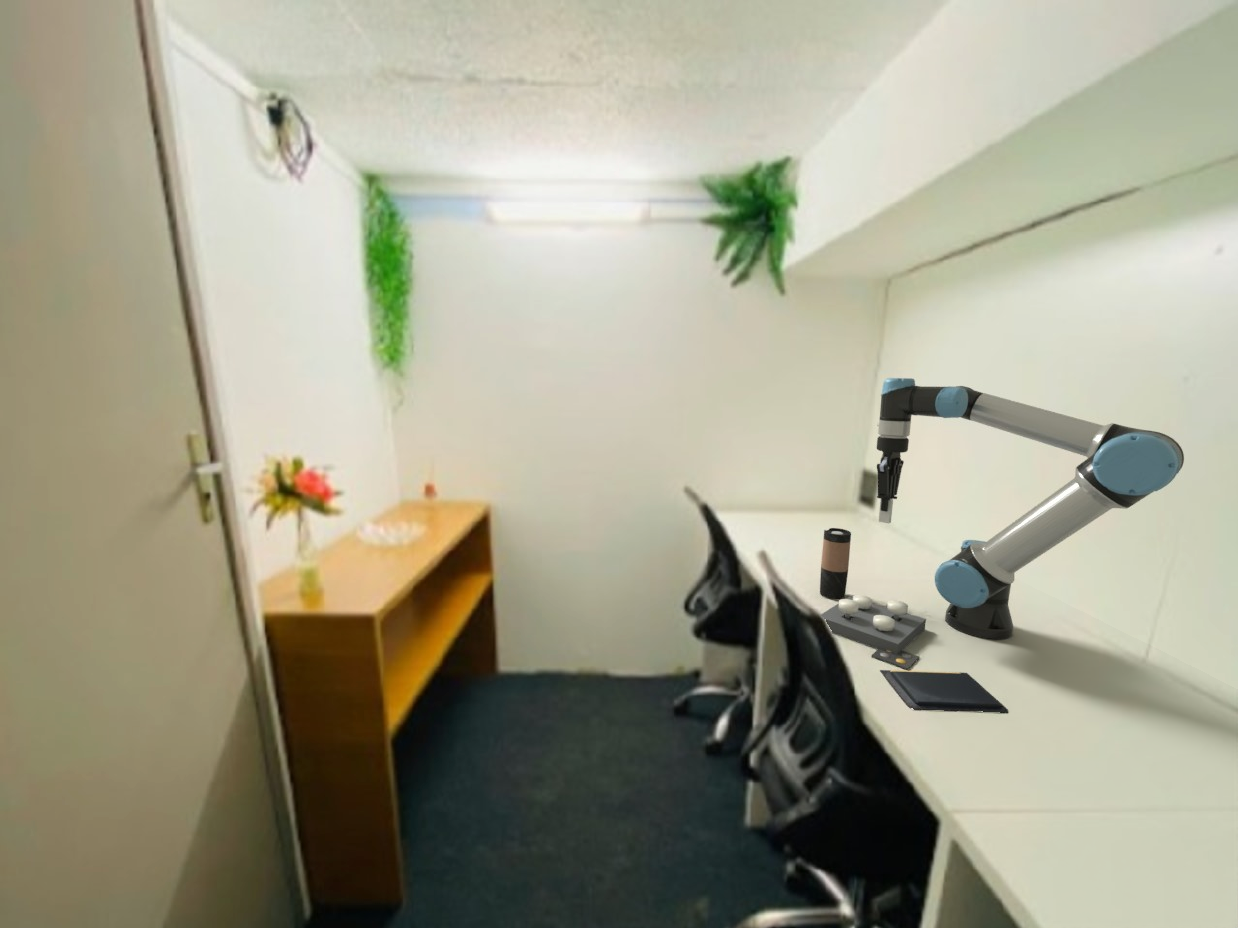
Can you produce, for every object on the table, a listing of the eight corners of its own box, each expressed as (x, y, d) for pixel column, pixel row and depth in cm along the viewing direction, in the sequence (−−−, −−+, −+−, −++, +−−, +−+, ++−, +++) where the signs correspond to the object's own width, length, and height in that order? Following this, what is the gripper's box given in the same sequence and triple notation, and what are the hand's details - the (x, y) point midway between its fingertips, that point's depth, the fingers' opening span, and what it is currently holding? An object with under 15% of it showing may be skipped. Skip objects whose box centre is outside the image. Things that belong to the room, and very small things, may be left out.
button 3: (873, 615, 149) (875, 598, 148) (866, 620, 146) (867, 603, 145) (855, 609, 152) (857, 593, 152) (848, 614, 149) (850, 598, 148)
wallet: (909, 703, 108) (878, 663, 123) (908, 712, 108) (877, 671, 123) (1014, 709, 107) (969, 668, 122) (1013, 718, 107) (968, 675, 122)
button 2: (895, 637, 136) (897, 619, 136) (888, 643, 133) (890, 625, 132) (876, 630, 140) (877, 613, 139) (868, 636, 136) (870, 618, 136)
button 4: (860, 620, 143) (861, 603, 142) (852, 625, 139) (854, 608, 138) (842, 614, 146) (843, 597, 145) (834, 619, 143) (835, 602, 142)
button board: (924, 629, 143) (926, 618, 142) (896, 655, 129) (898, 644, 128) (849, 605, 157) (850, 595, 156) (816, 626, 143) (817, 616, 143)
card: (919, 657, 128) (919, 655, 128) (907, 670, 123) (907, 667, 123) (884, 645, 134) (884, 643, 134) (871, 656, 128) (871, 654, 128)
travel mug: (848, 601, 160) (854, 535, 157) (820, 598, 162) (826, 534, 158) (843, 591, 167) (848, 528, 164) (817, 588, 169) (822, 526, 166)
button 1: (908, 621, 142) (910, 604, 141) (902, 627, 139) (904, 609, 138) (889, 615, 146) (891, 598, 145) (882, 620, 142) (884, 603, 142)
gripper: (887, 433, 151) (879, 515, 155) (869, 436, 142) (861, 523, 146) (916, 436, 146) (907, 520, 150) (899, 439, 137) (890, 529, 141)
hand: (884, 521), depth 148 cm, fingers closed
